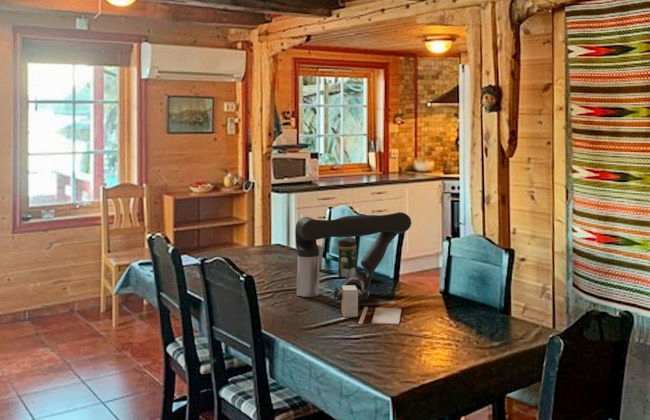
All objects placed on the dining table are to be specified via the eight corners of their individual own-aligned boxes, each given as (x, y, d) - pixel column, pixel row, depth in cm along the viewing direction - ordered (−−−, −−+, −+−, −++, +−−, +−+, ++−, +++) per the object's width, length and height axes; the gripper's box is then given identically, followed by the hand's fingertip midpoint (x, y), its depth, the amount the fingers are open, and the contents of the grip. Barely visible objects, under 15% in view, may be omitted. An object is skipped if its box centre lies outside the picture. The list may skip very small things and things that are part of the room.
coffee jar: (344, 273, 334) (344, 235, 331) (359, 274, 330) (359, 237, 328) (335, 277, 325) (335, 238, 323) (350, 278, 322) (350, 240, 319)
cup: (307, 270, 341) (307, 246, 339) (313, 267, 347) (313, 244, 345) (319, 271, 338) (319, 247, 336) (326, 269, 343) (325, 245, 342)
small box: (341, 311, 266) (341, 285, 265) (355, 311, 267) (355, 284, 265) (343, 317, 258) (343, 290, 257) (358, 316, 259) (358, 289, 258)
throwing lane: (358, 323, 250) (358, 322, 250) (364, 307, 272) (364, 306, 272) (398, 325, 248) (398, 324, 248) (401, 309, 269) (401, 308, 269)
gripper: (336, 278, 277) (330, 288, 261) (371, 279, 275) (367, 289, 259) (336, 296, 278) (330, 307, 262) (371, 297, 276) (367, 308, 260)
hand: (348, 298), depth 261 cm, fingers closed on small box, 6 cm apart
